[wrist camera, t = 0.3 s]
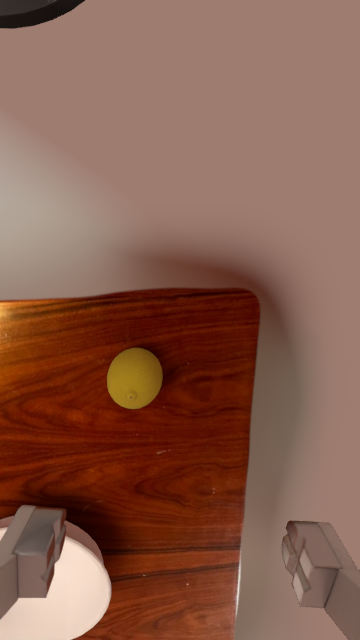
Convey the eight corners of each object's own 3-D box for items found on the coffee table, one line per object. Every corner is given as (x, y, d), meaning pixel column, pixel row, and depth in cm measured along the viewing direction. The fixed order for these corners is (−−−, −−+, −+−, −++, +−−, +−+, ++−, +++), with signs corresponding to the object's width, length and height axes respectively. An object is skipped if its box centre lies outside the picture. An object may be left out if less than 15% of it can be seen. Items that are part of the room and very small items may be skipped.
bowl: (73, 459, 36) (54, 503, 30) (143, 560, 42) (139, 615, 36) (-60, 515, 38) (-103, 569, 32) (24, 606, 43) (1, 667, 37)
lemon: (129, 389, 34) (118, 433, 26) (105, 350, 33) (87, 385, 25) (171, 369, 34) (172, 408, 26) (148, 329, 32) (143, 358, 24)
